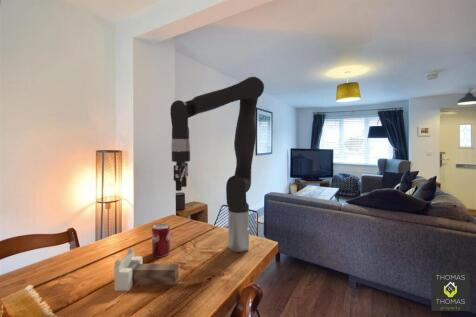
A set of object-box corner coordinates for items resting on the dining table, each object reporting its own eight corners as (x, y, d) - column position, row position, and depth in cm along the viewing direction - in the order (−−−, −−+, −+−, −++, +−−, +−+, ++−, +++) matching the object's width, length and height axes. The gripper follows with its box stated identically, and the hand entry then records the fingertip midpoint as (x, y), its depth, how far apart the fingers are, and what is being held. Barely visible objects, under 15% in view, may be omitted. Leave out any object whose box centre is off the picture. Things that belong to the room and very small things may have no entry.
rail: (178, 277, 81) (178, 263, 81) (175, 284, 77) (174, 269, 76) (132, 277, 81) (132, 262, 81) (126, 284, 77) (126, 269, 76)
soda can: (153, 259, 94) (152, 230, 93) (151, 251, 100) (150, 224, 100) (171, 255, 97) (171, 227, 96) (168, 248, 104) (167, 222, 103)
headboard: (142, 272, 84) (142, 247, 83) (128, 290, 73) (128, 261, 73) (130, 272, 84) (129, 247, 83) (114, 290, 74) (113, 261, 73)
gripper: (176, 149, 103) (177, 185, 104) (166, 150, 89) (167, 192, 90) (193, 149, 103) (193, 185, 104) (185, 150, 89) (186, 192, 90)
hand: (181, 188), depth 97 cm, fingers open, 8 cm apart
